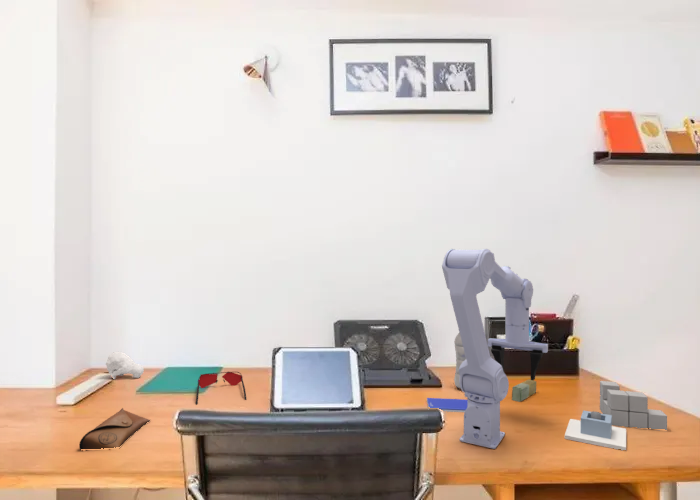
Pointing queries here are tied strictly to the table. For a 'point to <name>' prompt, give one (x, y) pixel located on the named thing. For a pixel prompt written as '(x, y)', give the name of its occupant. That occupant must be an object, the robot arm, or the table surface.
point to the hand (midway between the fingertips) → (517, 377)
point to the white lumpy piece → (123, 365)
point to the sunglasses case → (113, 431)
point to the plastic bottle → (458, 358)
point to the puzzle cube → (629, 408)
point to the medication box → (523, 390)
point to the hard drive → (448, 404)
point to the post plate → (615, 442)
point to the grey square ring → (596, 425)
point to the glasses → (212, 378)
